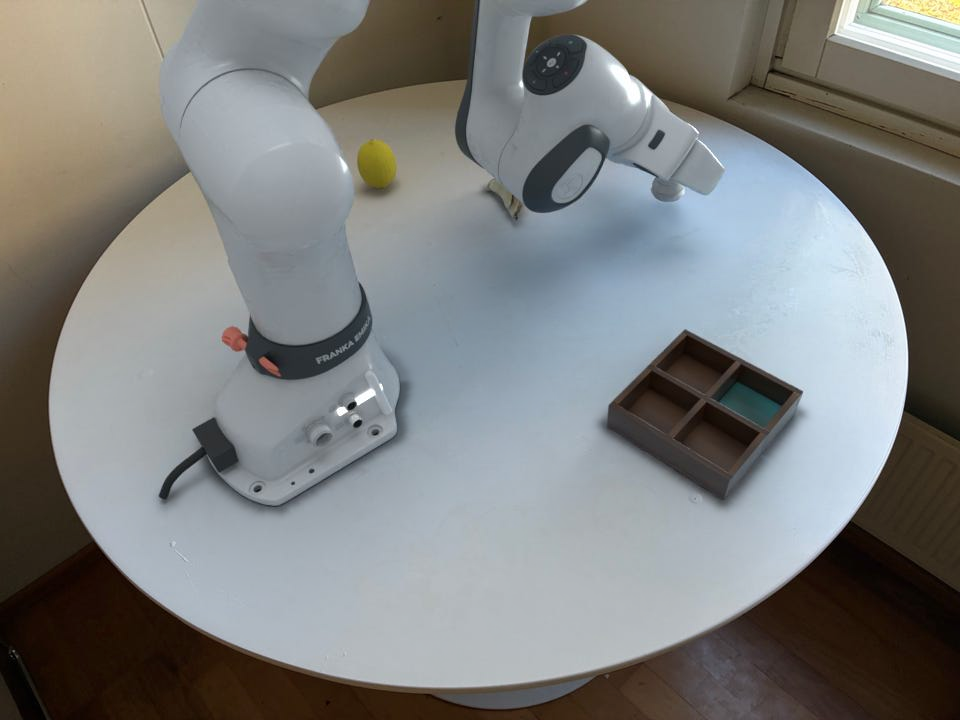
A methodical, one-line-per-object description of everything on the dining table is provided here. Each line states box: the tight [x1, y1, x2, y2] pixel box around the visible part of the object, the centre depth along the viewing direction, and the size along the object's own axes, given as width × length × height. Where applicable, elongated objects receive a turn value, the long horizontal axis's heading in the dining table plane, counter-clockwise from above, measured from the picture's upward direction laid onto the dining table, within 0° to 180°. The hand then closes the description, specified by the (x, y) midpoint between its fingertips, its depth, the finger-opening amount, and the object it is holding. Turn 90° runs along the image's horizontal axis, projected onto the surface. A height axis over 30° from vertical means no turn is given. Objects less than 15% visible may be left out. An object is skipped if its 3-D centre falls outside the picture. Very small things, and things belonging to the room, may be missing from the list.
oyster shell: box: [486, 178, 524, 221], centre depth 107 cm, size 6×4×10 cm
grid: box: [606, 328, 804, 501], centre depth 80 cm, size 14×14×4 cm
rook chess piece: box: [650, 177, 686, 203], centre depth 100 cm, size 4×4×8 cm
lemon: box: [356, 139, 397, 189], centre depth 111 cm, size 6×6×8 cm
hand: (674, 163), depth 100 cm, fingers closed on rook chess piece, 3 cm apart
